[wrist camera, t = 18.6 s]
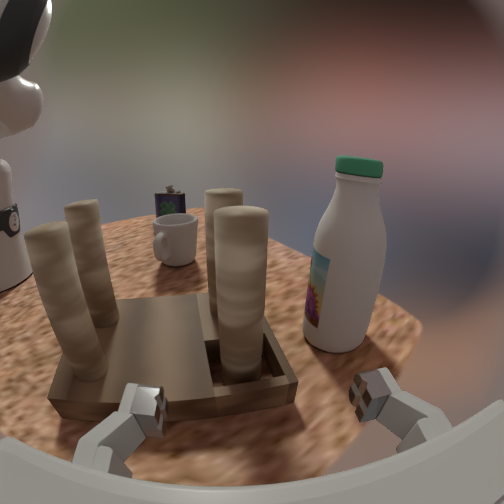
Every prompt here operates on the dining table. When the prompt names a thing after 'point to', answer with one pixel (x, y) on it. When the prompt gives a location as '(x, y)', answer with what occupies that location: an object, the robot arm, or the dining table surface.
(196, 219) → the cup
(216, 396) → the stool
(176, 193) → the flask
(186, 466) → the dining table surface
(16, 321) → the dining table surface
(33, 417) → the dining table surface
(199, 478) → the dining table surface
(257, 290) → the loose leg
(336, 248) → the milk bottle
